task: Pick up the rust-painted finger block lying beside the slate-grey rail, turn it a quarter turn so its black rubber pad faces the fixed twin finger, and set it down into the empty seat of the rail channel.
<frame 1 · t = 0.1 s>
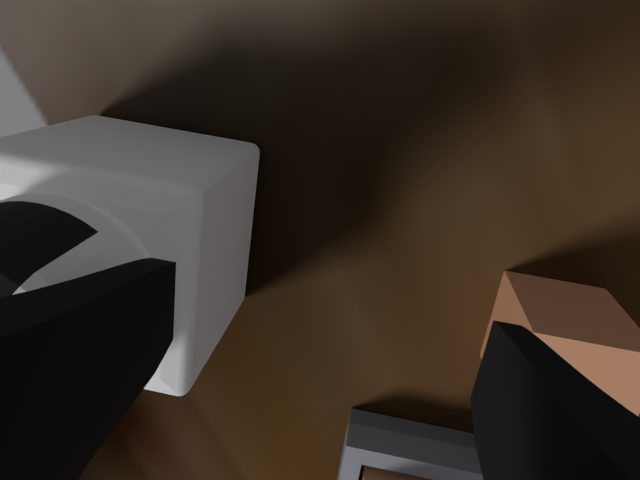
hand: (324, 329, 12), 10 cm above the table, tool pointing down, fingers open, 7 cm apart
medicine bottle: (174, 209, 23), on the table
rust finger: (540, 322, 22), on the table
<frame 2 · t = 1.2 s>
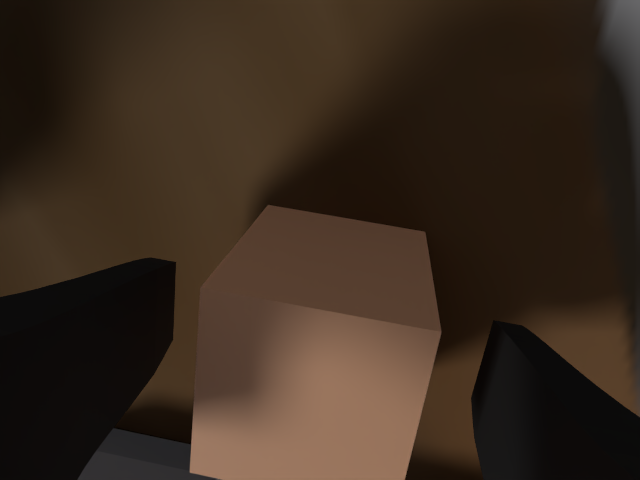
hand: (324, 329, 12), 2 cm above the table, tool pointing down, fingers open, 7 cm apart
rust finger: (334, 288, 14), on the table
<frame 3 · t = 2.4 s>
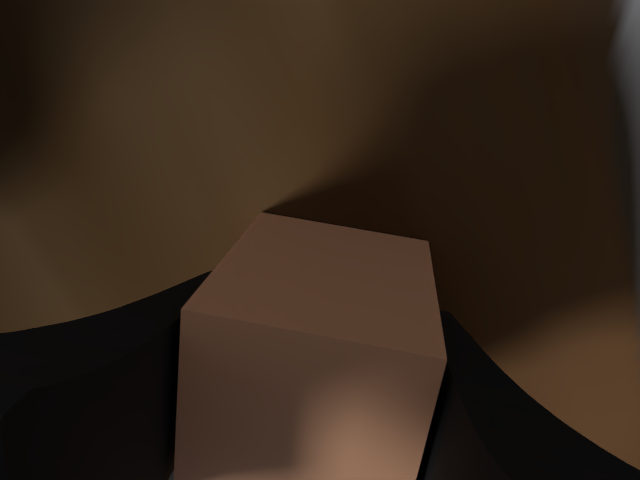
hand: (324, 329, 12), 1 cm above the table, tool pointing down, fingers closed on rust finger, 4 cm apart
rust finger: (331, 301, 13), on the table, touching gripper
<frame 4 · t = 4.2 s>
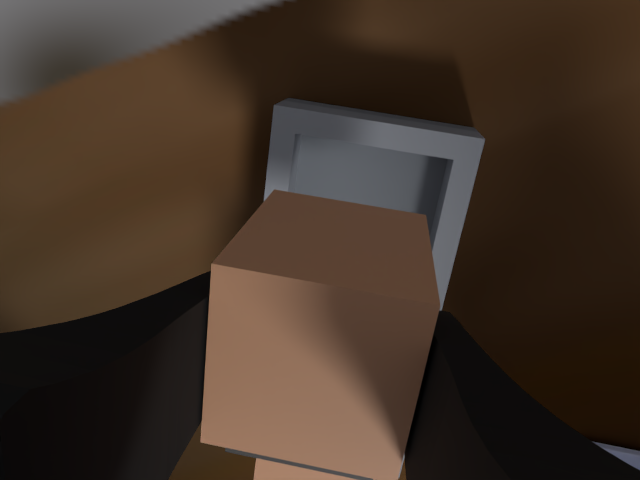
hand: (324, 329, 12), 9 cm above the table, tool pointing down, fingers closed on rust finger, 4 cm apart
rail: (349, 284, 22), on the table
rust finger: (338, 271, 14), point 6 cm above the table, touching gripper
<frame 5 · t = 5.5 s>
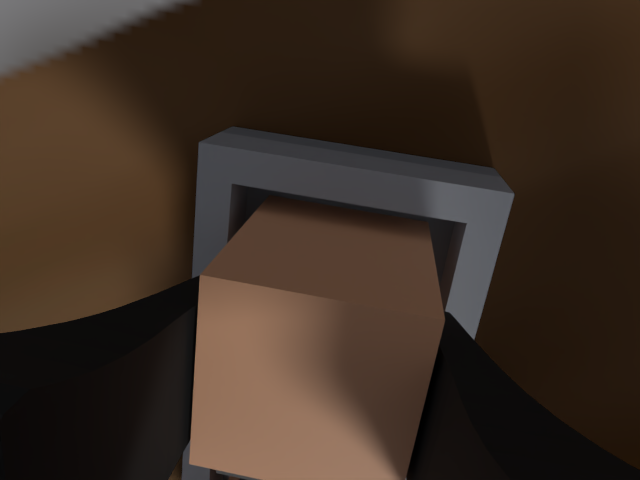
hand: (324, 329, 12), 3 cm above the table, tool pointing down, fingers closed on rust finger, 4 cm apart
rail: (323, 374, 16), on the table
rust finger: (336, 280, 14), point 1 cm above the table, touching gripper, rail
when the fingers open (3 cm above the table, at t = 6.2 s): rust finger stays where it is, resting on rail.
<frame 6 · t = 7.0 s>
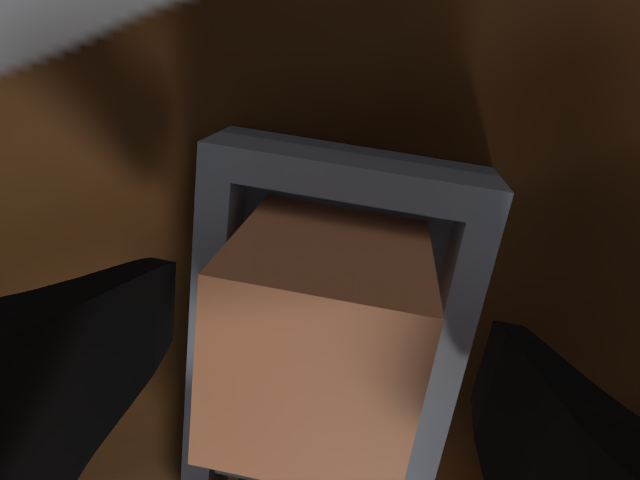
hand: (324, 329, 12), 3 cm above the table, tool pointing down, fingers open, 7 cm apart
rail: (323, 373, 16), on the table
rust finger: (335, 280, 14), point 1 cm above the table, touching rail
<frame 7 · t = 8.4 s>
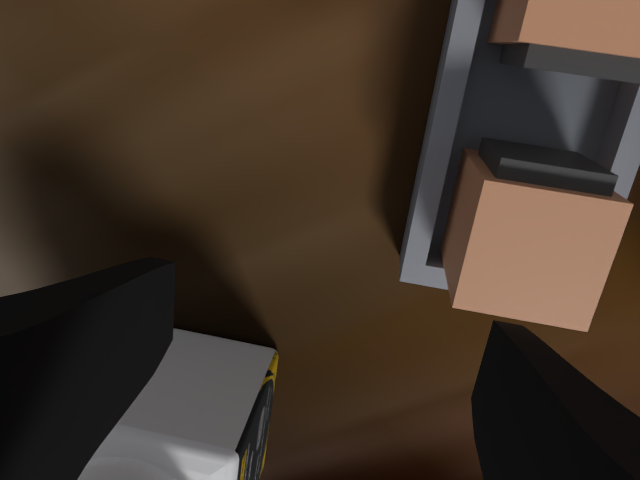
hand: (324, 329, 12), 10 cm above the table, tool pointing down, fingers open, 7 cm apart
medicine bottle: (203, 391, 26), on the table
rail: (527, 97, 19), on the table
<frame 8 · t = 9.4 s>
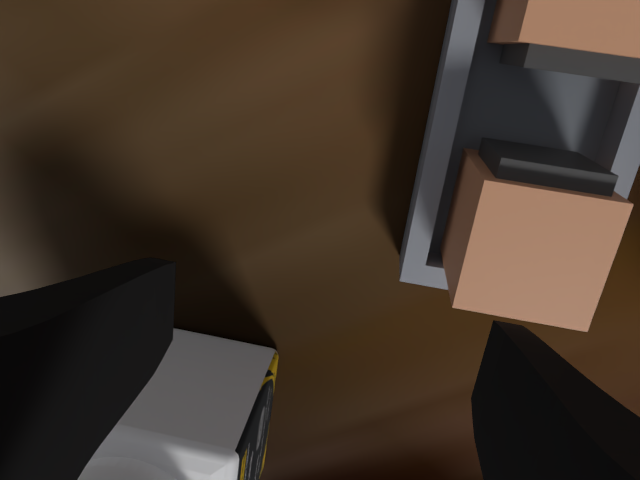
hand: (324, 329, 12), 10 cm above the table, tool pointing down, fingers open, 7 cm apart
medicine bottle: (203, 391, 26), on the table
rail: (527, 97, 19), on the table
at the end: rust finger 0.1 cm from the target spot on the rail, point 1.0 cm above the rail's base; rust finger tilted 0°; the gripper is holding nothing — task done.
